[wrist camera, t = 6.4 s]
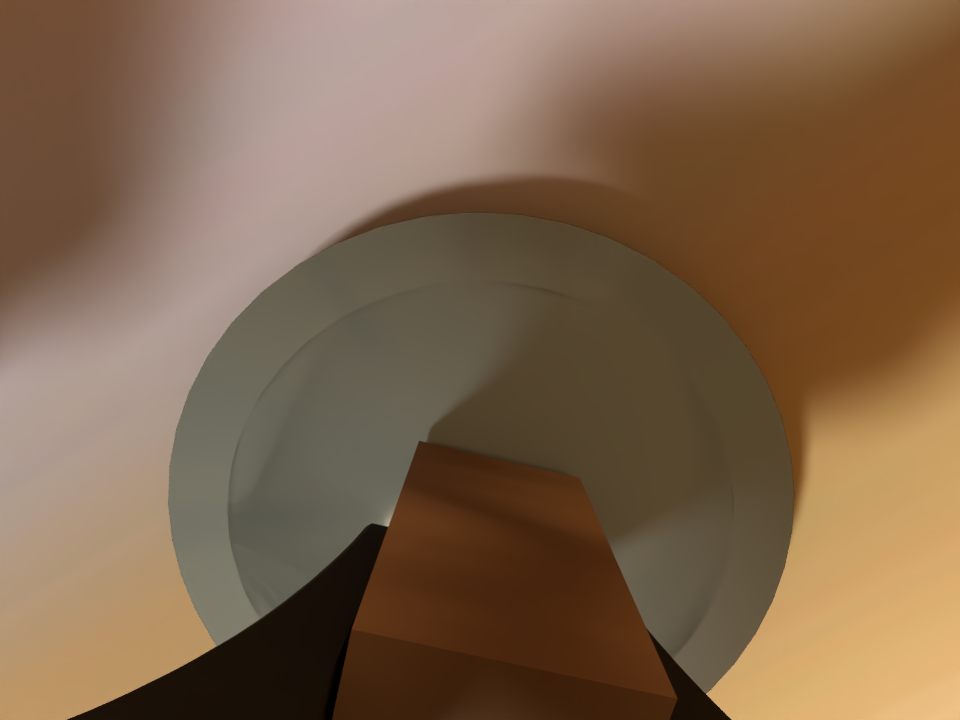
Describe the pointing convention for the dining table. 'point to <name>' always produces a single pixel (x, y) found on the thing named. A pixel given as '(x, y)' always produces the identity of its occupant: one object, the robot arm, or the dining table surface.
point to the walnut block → (497, 605)
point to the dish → (487, 419)
